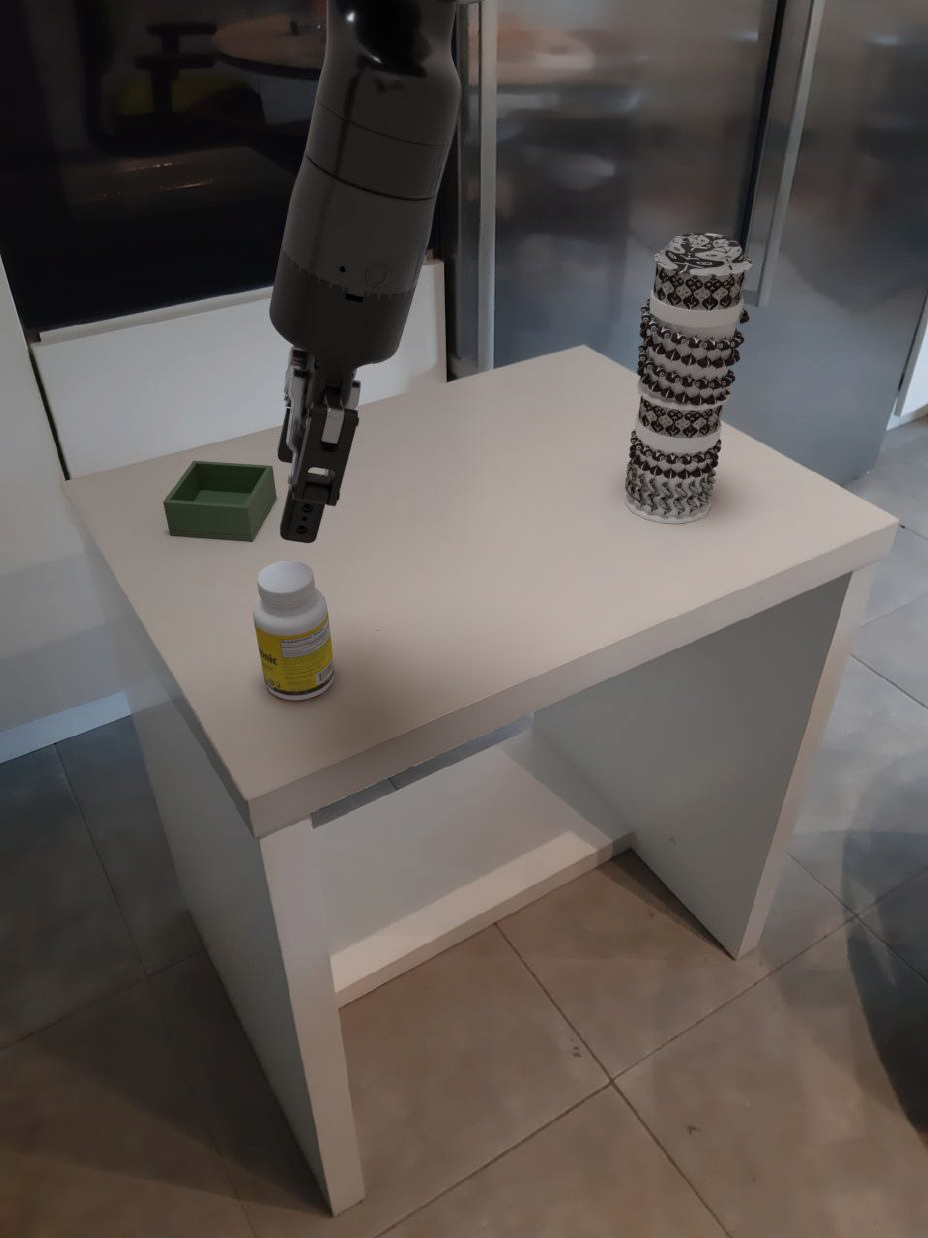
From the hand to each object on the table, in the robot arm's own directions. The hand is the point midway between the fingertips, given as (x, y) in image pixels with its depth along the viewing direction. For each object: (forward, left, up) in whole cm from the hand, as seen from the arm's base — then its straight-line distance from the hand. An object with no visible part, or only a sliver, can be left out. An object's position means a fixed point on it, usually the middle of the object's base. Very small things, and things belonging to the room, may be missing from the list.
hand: (294, 497), depth 63 cm
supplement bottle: (+1, +3, -18) cm, 18 cm away
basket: (+19, +22, -17) cm, 34 cm away
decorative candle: (+39, -16, -18) cm, 46 cm away
